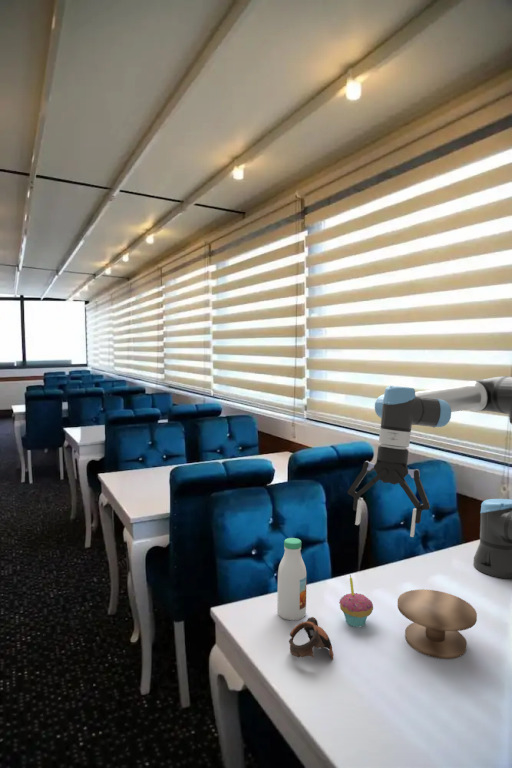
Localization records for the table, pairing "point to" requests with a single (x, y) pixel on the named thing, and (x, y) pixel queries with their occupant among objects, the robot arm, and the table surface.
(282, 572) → the milk bottle
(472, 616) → the cake stand
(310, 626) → the broken pottery fragment
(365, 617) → the cupcake
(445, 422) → the robot arm
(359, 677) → the table surface
